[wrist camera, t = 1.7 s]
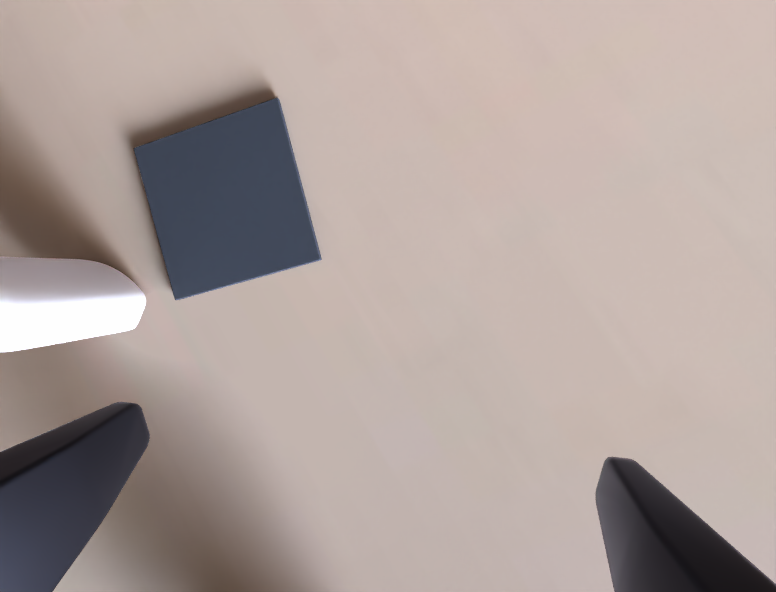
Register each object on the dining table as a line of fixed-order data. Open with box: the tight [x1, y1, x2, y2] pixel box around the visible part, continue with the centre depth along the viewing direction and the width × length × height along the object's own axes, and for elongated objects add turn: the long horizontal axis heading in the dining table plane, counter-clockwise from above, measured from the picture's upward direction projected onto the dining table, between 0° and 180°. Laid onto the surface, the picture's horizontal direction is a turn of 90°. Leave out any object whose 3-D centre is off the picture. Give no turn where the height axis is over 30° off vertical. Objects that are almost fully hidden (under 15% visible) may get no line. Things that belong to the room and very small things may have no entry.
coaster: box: [134, 98, 322, 300], centre depth 23 cm, size 9×9×1 cm
